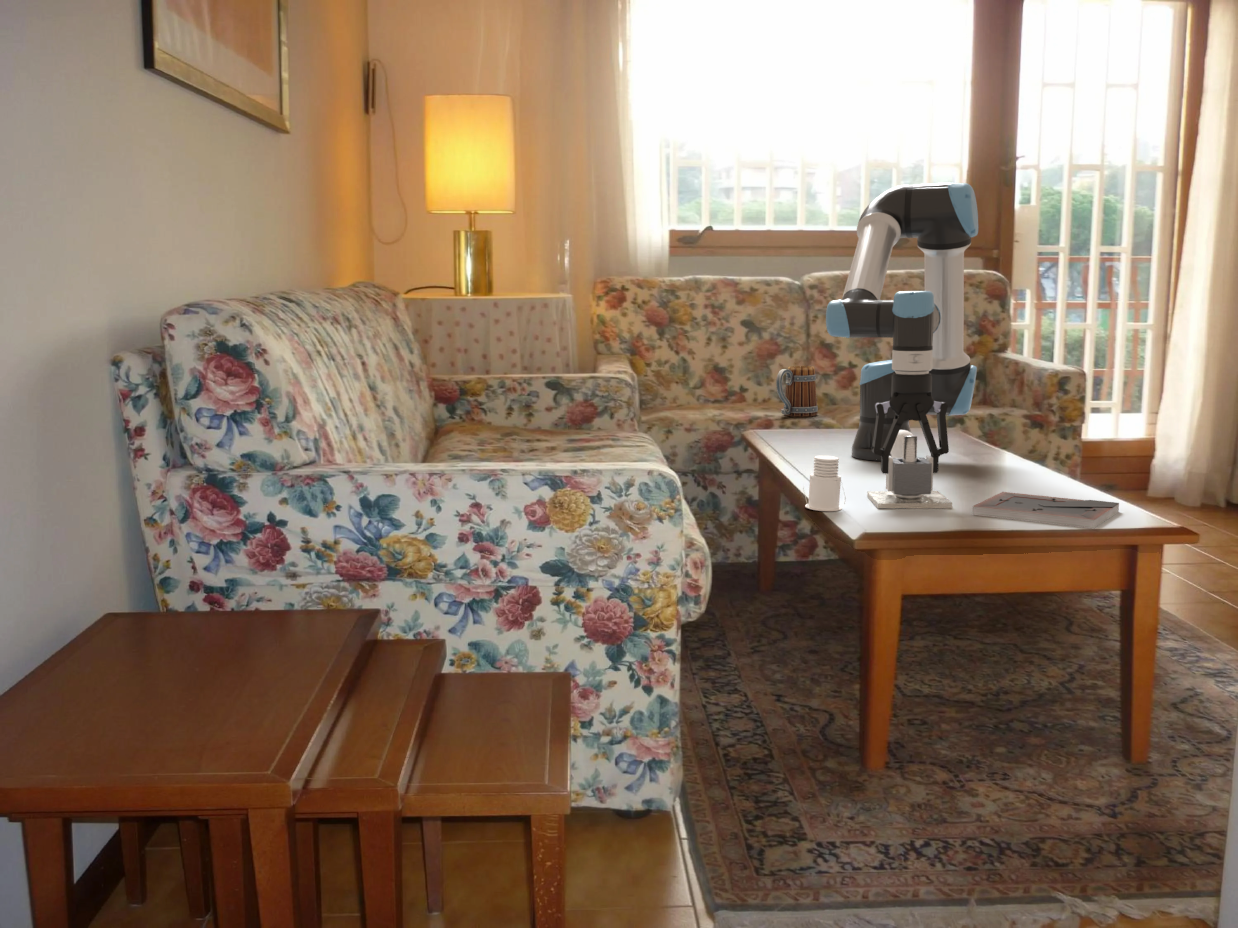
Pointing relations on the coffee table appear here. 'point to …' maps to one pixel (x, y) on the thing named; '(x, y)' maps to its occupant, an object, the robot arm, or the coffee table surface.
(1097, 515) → the picture frame
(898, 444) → the lightbulb
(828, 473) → the downlight
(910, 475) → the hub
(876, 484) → the coffee table surface
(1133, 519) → the coffee table surface
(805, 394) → the mug
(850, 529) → the coffee table surface
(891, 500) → the shaft
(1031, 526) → the coffee table surface
